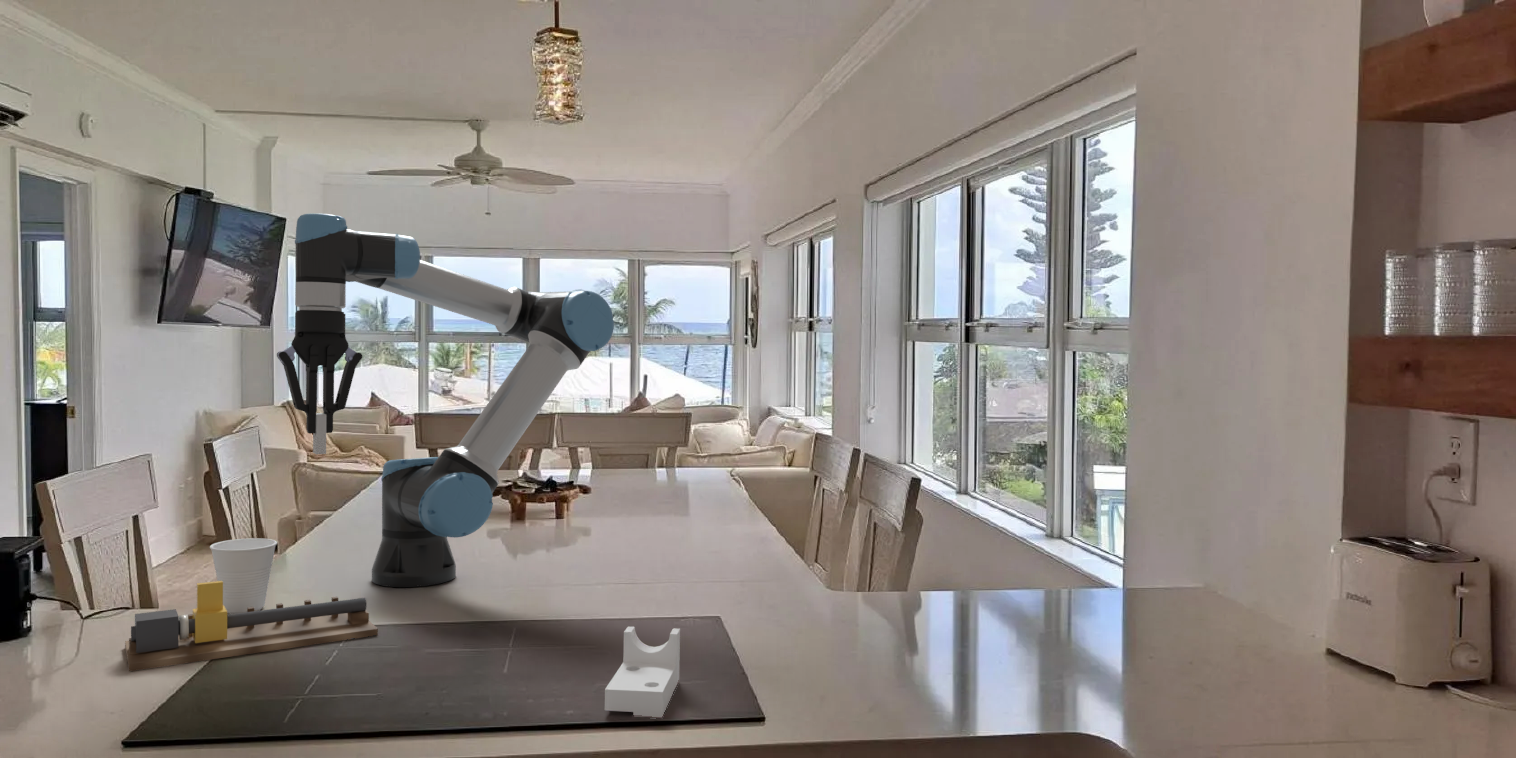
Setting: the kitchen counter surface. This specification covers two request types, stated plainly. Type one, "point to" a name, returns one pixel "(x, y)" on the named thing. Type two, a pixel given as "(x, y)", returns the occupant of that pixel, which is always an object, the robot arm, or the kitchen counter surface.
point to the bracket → (644, 676)
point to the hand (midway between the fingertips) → (319, 453)
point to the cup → (243, 571)
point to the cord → (284, 614)
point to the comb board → (257, 639)
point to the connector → (160, 630)
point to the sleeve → (210, 613)
